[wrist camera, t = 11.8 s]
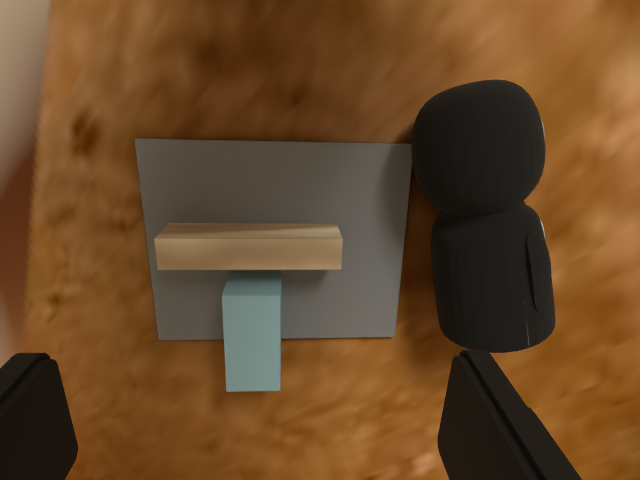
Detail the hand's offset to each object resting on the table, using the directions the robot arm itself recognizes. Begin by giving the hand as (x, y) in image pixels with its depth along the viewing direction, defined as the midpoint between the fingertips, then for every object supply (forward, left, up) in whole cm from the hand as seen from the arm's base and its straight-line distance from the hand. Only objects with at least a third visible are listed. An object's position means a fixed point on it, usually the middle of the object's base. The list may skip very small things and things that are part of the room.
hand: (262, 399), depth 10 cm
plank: (+5, -2, -26) cm, 26 cm away
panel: (+6, 0, -26) cm, 26 cm away
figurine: (+2, +16, -26) cm, 31 cm away
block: (+8, -2, -23) cm, 24 cm away
